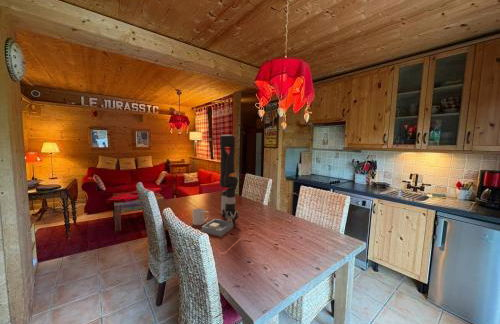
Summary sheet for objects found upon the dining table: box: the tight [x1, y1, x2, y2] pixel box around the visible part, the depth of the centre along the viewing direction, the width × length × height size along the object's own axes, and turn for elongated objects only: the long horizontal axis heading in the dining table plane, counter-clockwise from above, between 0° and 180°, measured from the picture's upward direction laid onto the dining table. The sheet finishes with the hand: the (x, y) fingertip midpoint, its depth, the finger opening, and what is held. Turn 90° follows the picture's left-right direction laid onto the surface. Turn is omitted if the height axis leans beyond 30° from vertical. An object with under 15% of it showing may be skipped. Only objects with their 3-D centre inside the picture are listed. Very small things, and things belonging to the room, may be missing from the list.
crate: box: [201, 218, 234, 237], centre depth 149 cm, size 17×16×5 cm
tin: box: [227, 215, 233, 222], centre depth 159 cm, size 5×5×8 cm
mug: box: [192, 208, 209, 226], centre depth 161 cm, size 12×9×11 cm
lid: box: [209, 223, 220, 227], centre depth 144 cm, size 5×5×1 cm
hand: (230, 223), depth 160 cm, fingers closed on tin, 5 cm apart
